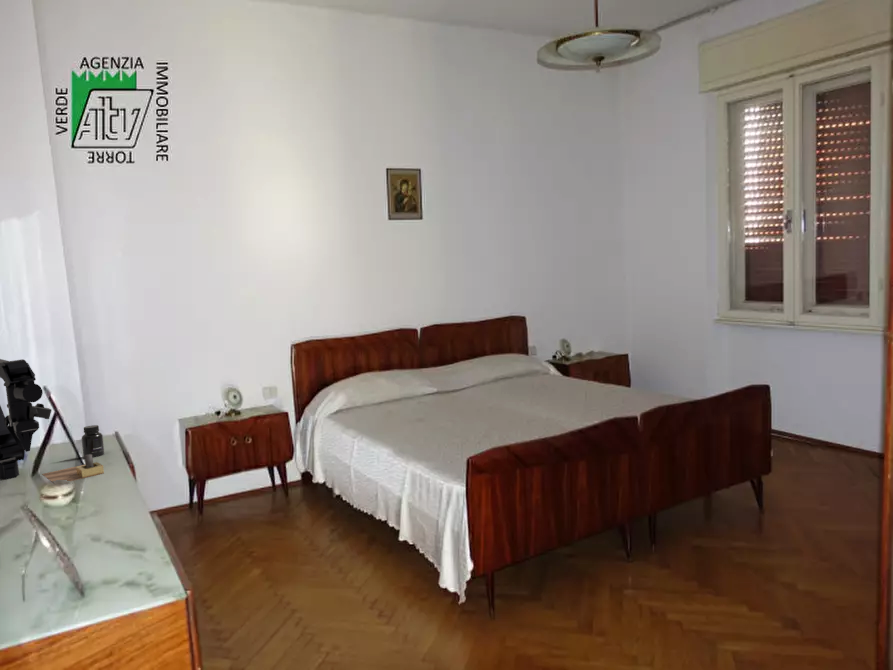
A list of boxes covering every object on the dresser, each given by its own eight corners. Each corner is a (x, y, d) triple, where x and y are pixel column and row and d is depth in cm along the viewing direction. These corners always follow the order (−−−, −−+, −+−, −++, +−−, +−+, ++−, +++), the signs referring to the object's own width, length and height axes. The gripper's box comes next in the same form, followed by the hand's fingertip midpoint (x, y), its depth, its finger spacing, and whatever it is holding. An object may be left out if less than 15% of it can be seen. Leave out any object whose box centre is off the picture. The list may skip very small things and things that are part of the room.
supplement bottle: (99, 461, 246) (95, 428, 245) (80, 462, 246) (75, 429, 245) (108, 456, 253) (105, 423, 252) (90, 457, 253) (86, 424, 252)
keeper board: (42, 478, 229) (39, 456, 228) (88, 468, 238) (85, 446, 238) (56, 489, 216) (53, 465, 215) (104, 477, 225) (102, 455, 224)
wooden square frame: (76, 474, 226) (75, 466, 226) (98, 469, 230) (97, 462, 230) (82, 477, 221) (81, 470, 221) (103, 472, 226) (103, 465, 225)
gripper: (54, 398, 217) (60, 447, 218) (40, 393, 231) (45, 439, 232) (13, 405, 209) (19, 456, 211) (0, 399, 223) (7, 446, 225)
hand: (24, 449), depth 220 cm, fingers open, 9 cm apart
